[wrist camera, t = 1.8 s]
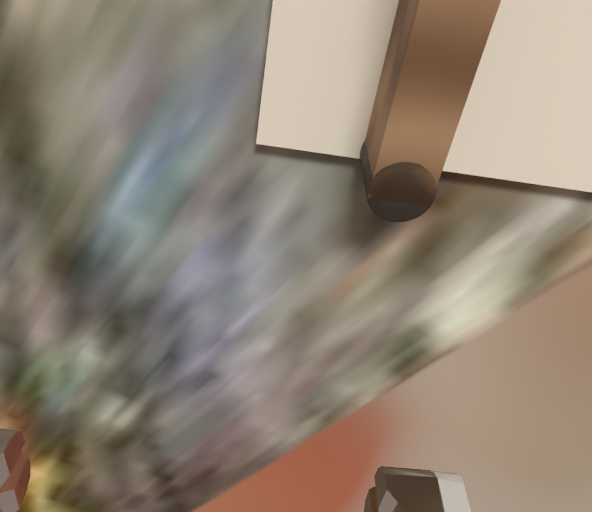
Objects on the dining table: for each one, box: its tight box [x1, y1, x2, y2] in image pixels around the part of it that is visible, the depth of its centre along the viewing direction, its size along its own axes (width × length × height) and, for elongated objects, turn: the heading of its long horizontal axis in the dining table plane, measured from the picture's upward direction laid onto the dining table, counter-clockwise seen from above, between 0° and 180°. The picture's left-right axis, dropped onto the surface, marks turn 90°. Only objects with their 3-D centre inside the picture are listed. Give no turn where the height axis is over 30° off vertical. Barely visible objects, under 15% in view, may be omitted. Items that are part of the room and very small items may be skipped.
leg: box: [360, 0, 501, 222], centre depth 24 cm, size 14×3×4 cm, turn 171°
